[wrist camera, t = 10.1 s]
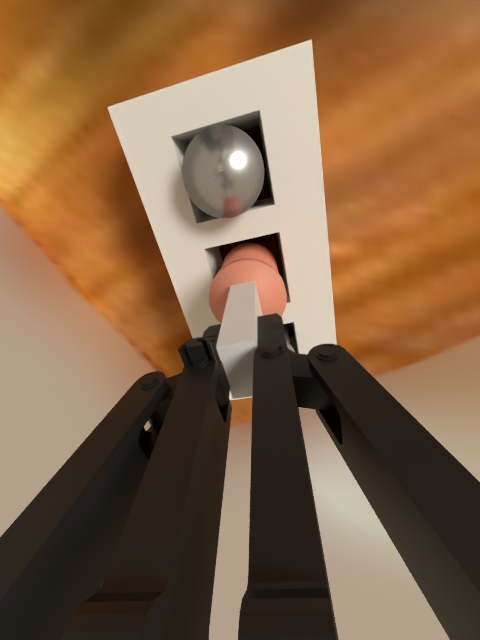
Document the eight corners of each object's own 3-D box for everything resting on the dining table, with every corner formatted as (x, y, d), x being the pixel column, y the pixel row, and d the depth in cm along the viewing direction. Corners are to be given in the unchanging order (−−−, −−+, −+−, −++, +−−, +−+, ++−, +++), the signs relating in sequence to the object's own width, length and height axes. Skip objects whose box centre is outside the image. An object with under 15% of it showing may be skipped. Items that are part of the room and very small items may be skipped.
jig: (144, 123, 21) (107, 107, 16) (296, 75, 19) (311, 39, 14) (222, 364, 32) (216, 402, 27) (325, 348, 30) (339, 385, 25)
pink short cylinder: (208, 271, 22) (193, 302, 17) (247, 226, 20) (244, 244, 15) (251, 307, 24) (249, 346, 18) (292, 268, 22) (303, 298, 16)
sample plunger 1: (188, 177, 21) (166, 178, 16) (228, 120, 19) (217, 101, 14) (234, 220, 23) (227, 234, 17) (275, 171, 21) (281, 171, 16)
